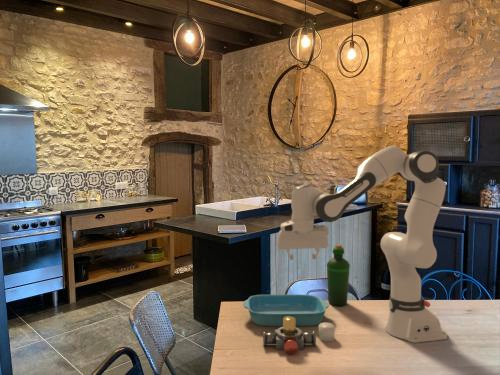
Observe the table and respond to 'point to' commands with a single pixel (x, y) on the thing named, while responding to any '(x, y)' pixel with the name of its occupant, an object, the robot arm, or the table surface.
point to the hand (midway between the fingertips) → (302, 259)
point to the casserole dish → (286, 309)
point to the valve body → (289, 340)
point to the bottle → (338, 277)
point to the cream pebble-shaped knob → (326, 332)
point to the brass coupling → (289, 325)
